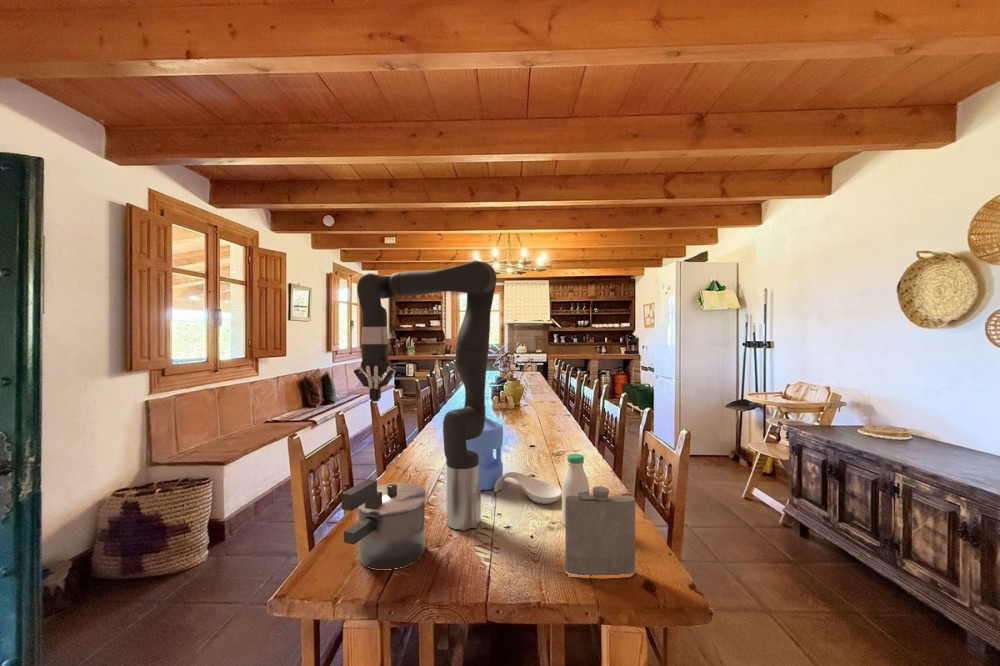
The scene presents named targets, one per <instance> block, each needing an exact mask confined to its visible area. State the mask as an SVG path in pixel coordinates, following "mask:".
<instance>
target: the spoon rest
mask: <svg viewBox="0 0 1000 666" xmlns="http://www.w3.org/2000/svg"><path fill="white" fill-rule="evenodd" d="M508 478H513V479H514V480H516V481H517V482H518V484H520V486H521V487H522V489H523V491H524V492H525V493H526V495H527V496H528V498H529V499H530V500H532V501H533V502H534V501H535V502H534V503H536V502H537V503H536V504H539V503H542V504H541V505H549V504H553V503H554V502H557V501H558V500H559V499H560V498H562V488H560V487H559V486H557V485H555V484H552V483H549V482H546V481H543V480H539V479H536V478H534V477H531V476H528V475H526V474H523V473H520V472H516V471H510V472H507V473H504V474H503V476H501V477H500V478H499V479H498V480H497V482H496V484H495V487H494V489H493V492H494V493H497V491H498V492H499V490H500V489H501V490H502V489H503V485H504V481H505V479H508ZM501 490H500V491H501ZM548 503H549V504H548Z"/></svg>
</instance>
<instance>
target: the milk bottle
mask: <svg viewBox="0 0 1000 666" xmlns="http://www.w3.org/2000/svg"><path fill="white" fill-rule="evenodd" d="M566 459H567V464H568V465H567V470H566V473H565V475H564V476H563V480H562V485H561V490H562V495H561V522H562V523H561V524H562V525H563V524H564V525H565V498H566V497H567V496H586V495H590V484H589V480H588V477H587V475H586V472H585V469H584V465H585V464H584V461H585V457H584V455H582V454H580V453H569V454H568V455H567V458H566ZM564 525H563V526H564Z"/></svg>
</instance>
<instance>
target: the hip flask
mask: <svg viewBox="0 0 1000 666" xmlns="http://www.w3.org/2000/svg"><path fill="white" fill-rule="evenodd" d="M592 493H593V494H591V495H590V494H589V495H586V496H567V497H566V498H565V527H564V530H565V535H564V536H565V539H564V540H565V545H564V546H565V552H564V554H565V556H564V557H565V558H564V559H565V560H564V561H565V566H564V567H565V570H566V571H567V572H568V573H571V574H578V575H590V576H592V575H595V576H596V575H620V574H630V573H633V572H635V573H636V498H635V496H631V495H616V496H609V494H610V489H609V488H608V487H605V486H594V487H593V488H592Z"/></svg>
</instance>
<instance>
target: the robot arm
mask: <svg viewBox="0 0 1000 666" xmlns="http://www.w3.org/2000/svg"><path fill="white" fill-rule="evenodd" d="M496 285H497V273H496V271H495V269H494V268H493V267H492V265H490V264H488V263H486V262H484V261H481V260H480V261H479V260H471V261H469V262H466V263H462V264H459V265H455V266H451V267H445V268H438V269H425V270H423V269H422V270H421V269H420V270H408V271H398V272H395V273H393V274H389V275H388V274H387V275H383V274H382V275H379V274H377V273H372V272H369V273H368V272H366V273H364V274H362V275H361V276H360V278H359V279H358V281H357V285H356V289H357V291H356V292H357V299H358V302H359V306H360V309H361V313H362V314H361V316H362V317H361V318H362V319H361V321H362V323H361V324H362V328H361V337H360V338H361V341H360V342H361V360H362V361H361V363H360V366H359V367H358V368H357V369H354V370H353V373H354V375H355V376H356V378H357V379H358V380H359V382H360V383H361V384H362V386H363V387H366V388H368V389H369V400H370V402H373V403H375V402H376V403H377V402H379V401H380V400H381V397H382V396H381V395H382V394H381V393H382V388H383V387H386V386H387V385H388V384H389V383H390V381H391V380H392V379H393V378H394V376H395V375H396V373H397V369H393V368H392V367H391V366H390V362H389V334H388V333H389V331H388V313H387V309H386V308H385V307H383V305H382V299H383V300H385V299H391V298H397V297H411V296H422V295H428V294H433V293H441V292H443V293H444V292H453V293H454V292H456V293H465V294H466V308H465V313H464V317H463V320H462V323H461V325H460V329H459V332H458V335H457V338H456V339H457V340H456V346H455V358H454V359H455V361H454V362H455V367H456V370H457V372H458V374H459V377H460V379H461V381H462V383H463V386H464V389H465V392H464V393H465V395H464V396H465V397H464V398H465V399H464V406H463V407H461V408H455V409H451V410H449V411H447V412H446V414H445V415H444V418H443V420H442V421H443V422H442V431H443V432H442V434H443V450H444V451H443V452H444V456H445V458H446V525H447V527H448V526H449V527H448V528H450V527H451V528H454V529H453V530H455V529H469V528H476V527H477V528H478V526H479V524H480V522H481V519H482V517H481V515H482V513H481V512H482V509H481V508H482V507H481V506H482V505H481V504H482V503H481V502H482V497H481V496H482V495H481V493H482V492H481V488H479V456H478V454H477V453H476V452H474V451H470V450H467V445H466V440H470V439H474V438H477V437H479V436H480V435H481V434H482V432H483V429H484V424H485V410H486V408H485V406H486V404H485V402H486V400H485V398H486V396H485V395H486V382H487V381H486V378H487V366H488V359H489V348H490V334H491V333H490V332H491V311H492V307H493V300H494V295H495V291H496V290H495V289H496ZM384 374H385V376H384ZM451 528H450V529H451ZM477 528H476V529H477ZM469 530H470V529H469Z"/></svg>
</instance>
